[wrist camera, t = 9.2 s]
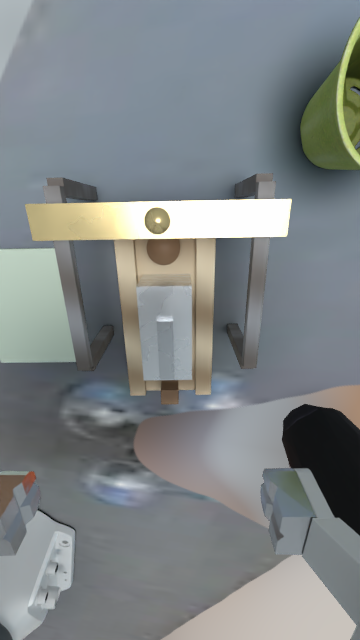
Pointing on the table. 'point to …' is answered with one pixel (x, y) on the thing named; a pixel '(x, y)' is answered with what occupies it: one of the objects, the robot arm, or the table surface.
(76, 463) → the table surface
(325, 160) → the plant pot
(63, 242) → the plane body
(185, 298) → the grey block with handle
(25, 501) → the robot arm
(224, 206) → the brass bolt
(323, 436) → the portable speaker
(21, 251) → the sage mat
